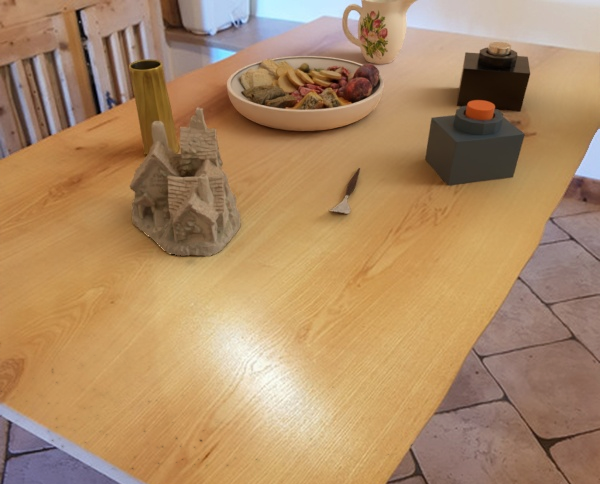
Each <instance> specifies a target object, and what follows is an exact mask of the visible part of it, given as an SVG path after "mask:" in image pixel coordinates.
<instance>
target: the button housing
mask: <svg viewBox="0 0 600 484" xmlns="http://www.w3.org/2000/svg"><path fill="white" fill-rule="evenodd" d="M466 109H467V106H460V107H458V108H457V109H456V110H455V114H453V115H445V116H444V115H443V116H433V117H431V119H430V125H429V132H428V138H427V144H426V151H425V156H424V157H425V158H424V160H425V162H426V163H427V164H428V165H429V166H430V167H431V168H432V169H433V171H434V172H435V173H436V174H437V175H438V176H439V177H440V179H441V180H442V181H443V182H444V183H445V184H446V185H447V186H448V187H449V186H458V185H465V184H473V183H481V182H489V181H496V180H504V179H513V178H514V176H515V171H516V169H517V166H518V165H517V164H518V162H519V157H520V154H521V150H522V146H523V143H524V139H525V136H526V133H524V132H523V131H522V130H521V129H519V128H518V127H517V126H516V125H514V124H513V123H511V122H510V120H508V119H507V118H505V117H504V113H502V112H501V110H497V109H494V114H493V118H492V119H490V120H474V119H471V118H469V117H466V116H465V114H466Z"/></svg>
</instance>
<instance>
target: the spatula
mask: <svg viewBox="0 0 600 484" xmlns="http://www.w3.org/2000/svg"><path fill="white" fill-rule="evenodd" d="M360 170H361V167H358V168H357V170H356V171H355V173H354V174H353V176H352V177H351V179H350V180H349V181H348V184H347V188H346V192H345V196H344V198H343V200H342V201H340V202H339V203H338V204H337V205H335V206H334V207H333V208H332V209H328V212H334V213H339V214H345V215H348V214H350V213H351V207H350V205H349V203H348V198H349V197H350V196H351V194H352V193H353V192H354V190H355V189H356V186H357V182H358V178H359V174H360Z"/></svg>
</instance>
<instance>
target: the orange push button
mask: <svg viewBox="0 0 600 484" xmlns="http://www.w3.org/2000/svg"><path fill="white" fill-rule="evenodd" d="M494 109H495V105H494V104H493V103H491V102H488V101H484V100H473V101H470V102H468V104H467V109H466V114H465V116H466V117H469V118H471V119H474V120H490V119H492V118H493V114H494Z"/></svg>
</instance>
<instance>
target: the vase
mask: <svg viewBox="0 0 600 484" xmlns="http://www.w3.org/2000/svg"><path fill="white" fill-rule="evenodd" d="M163 64H164V63H163V62H162V61H161V60H160V59H153V58H148V59H147V58H146V59H145V58H144V59H138V60H135V61H132V62H130V63H129V65H128V72H129V76H130V82H131V85H132V91H133V95H134V101H135V107H136V112H137V117H138V123H139V124H138V125H139V130H140V135H141V141H142V150H143V154H144V153H145V154H147V155H148V154H149V151H150V148H151V147H152V145H153V144H154V143H153V138H152V123H153V122H154V121H161V122H162V123H163V124H164V128H165V131H166V136H167V141H168V148H171V149H173V151H174V152H175V153H176V154H178V152H180V151H179V150H180V143H179V141H178V135H177V130H176V125H175V120H174V117H173V111H172V106H171V101H170V96H169V92H168V88H167V83H166V77H165V71H164V65H163ZM145 154H144V155H145ZM147 155H146V156H147Z"/></svg>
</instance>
